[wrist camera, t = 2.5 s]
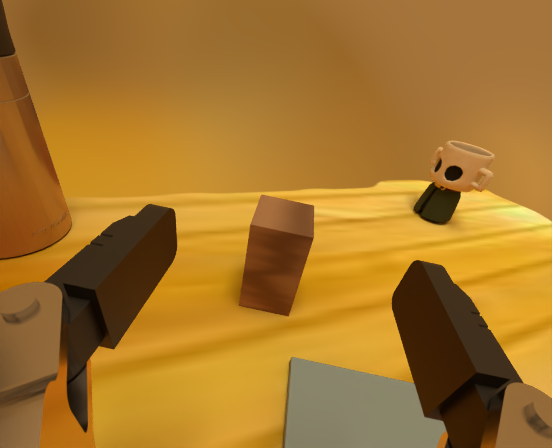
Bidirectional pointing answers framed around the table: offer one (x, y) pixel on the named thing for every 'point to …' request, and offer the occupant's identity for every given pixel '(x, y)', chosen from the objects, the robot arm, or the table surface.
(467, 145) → the character mug
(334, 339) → the table surface
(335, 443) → the slate-blue mat
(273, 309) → the walnut block
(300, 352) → the table surface
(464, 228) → the table surface
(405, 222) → the table surface
